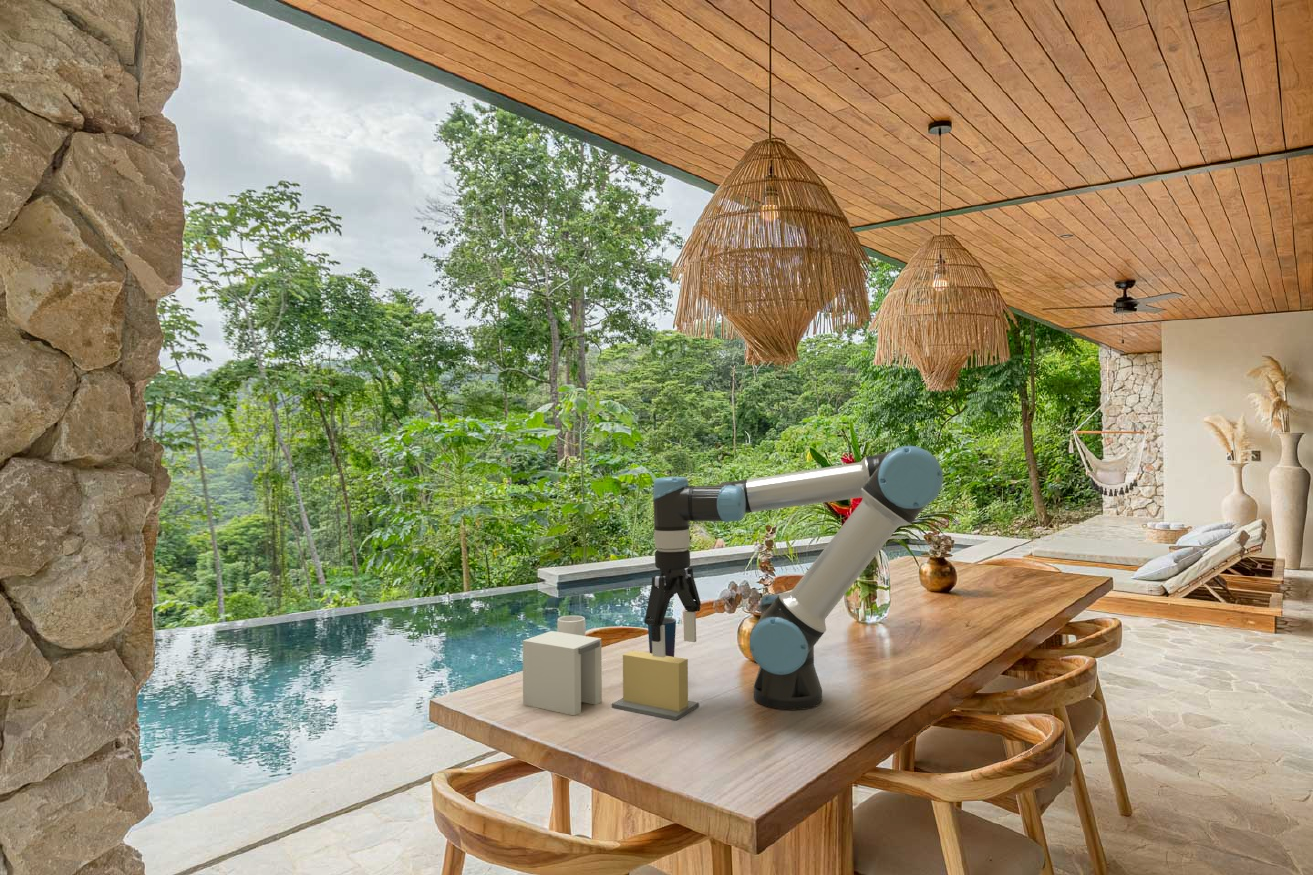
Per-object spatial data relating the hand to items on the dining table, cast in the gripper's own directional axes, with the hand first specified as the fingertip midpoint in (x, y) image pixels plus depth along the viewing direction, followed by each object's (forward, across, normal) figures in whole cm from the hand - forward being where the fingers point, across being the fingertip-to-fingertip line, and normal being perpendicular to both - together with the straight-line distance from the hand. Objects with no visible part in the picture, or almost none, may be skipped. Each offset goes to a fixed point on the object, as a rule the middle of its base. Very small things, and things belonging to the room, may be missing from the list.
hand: (675, 648), depth 166 cm
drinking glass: (+13, -6, -32) cm, 35 cm away
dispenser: (+13, +8, -24) cm, 28 cm away
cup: (+13, -15, -12) cm, 23 cm away
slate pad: (+13, 0, -5) cm, 14 cm away
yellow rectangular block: (+12, 0, -5) cm, 13 cm away
